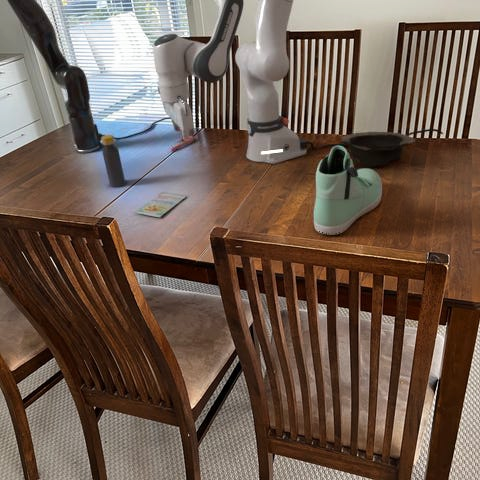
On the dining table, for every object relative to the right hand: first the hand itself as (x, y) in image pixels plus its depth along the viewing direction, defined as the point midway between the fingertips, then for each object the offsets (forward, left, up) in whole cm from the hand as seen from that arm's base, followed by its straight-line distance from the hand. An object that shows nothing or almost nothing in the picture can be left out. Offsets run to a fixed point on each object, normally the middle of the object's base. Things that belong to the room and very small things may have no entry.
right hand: (181, 135), depth 154 cm
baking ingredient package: (+12, +14, -17) cm, 24 cm away
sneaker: (-38, +41, -17) cm, 58 cm away
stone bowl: (-65, +12, -17) cm, 68 cm away
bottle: (+23, -10, -17) cm, 30 cm away
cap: (+23, -10, 0) cm, 25 cm away
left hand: (+69, -30, +13) cm, 76 cm away
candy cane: (-6, -36, -17) cm, 41 cm away
